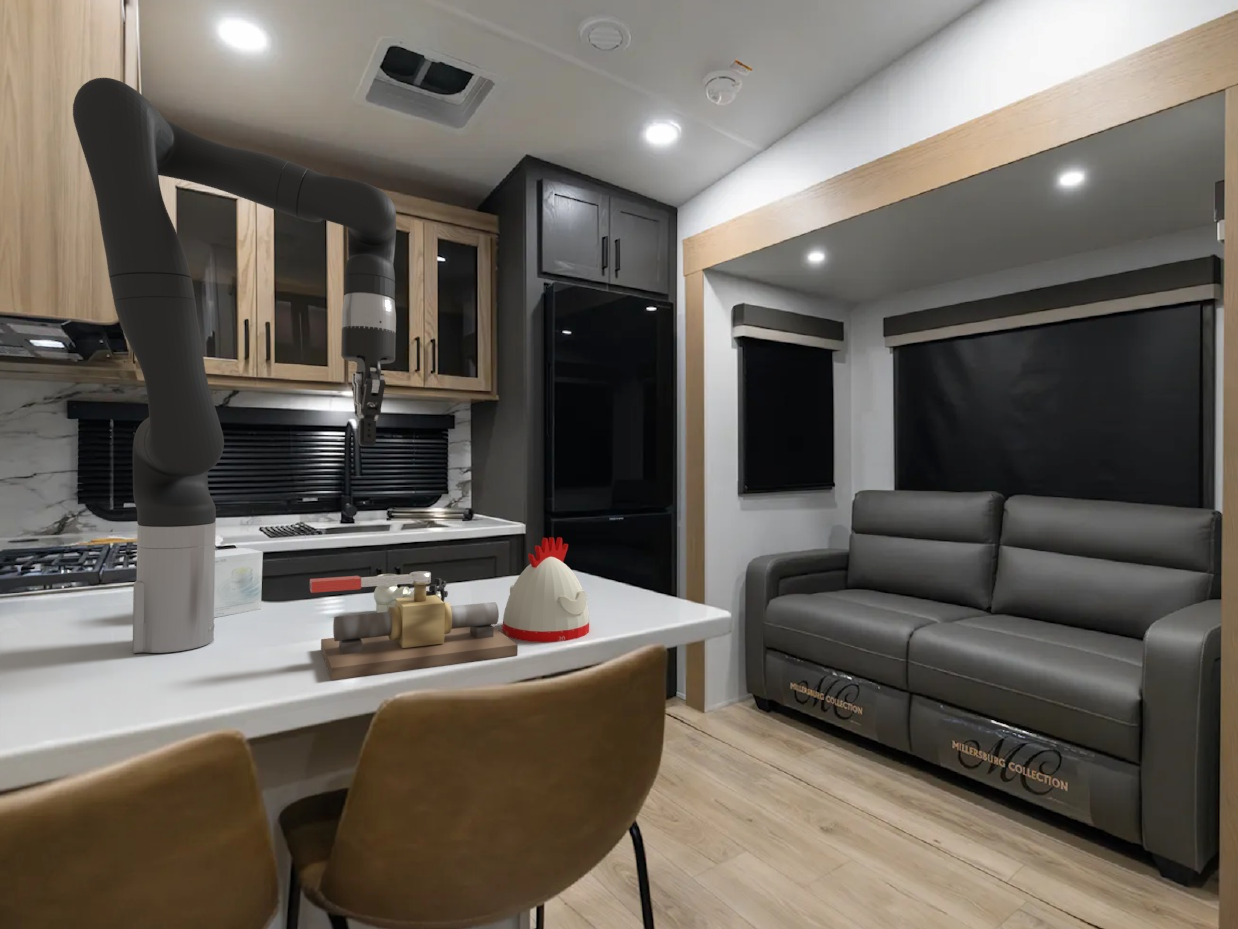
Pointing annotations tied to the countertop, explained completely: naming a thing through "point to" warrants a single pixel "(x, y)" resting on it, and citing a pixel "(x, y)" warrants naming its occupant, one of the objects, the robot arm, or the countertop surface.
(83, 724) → the countertop surface
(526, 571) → the kitchen timer
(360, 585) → the valve lever
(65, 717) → the countertop surface
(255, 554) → the skincare box
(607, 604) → the countertop surface
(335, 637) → the valve pipe
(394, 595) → the valve
